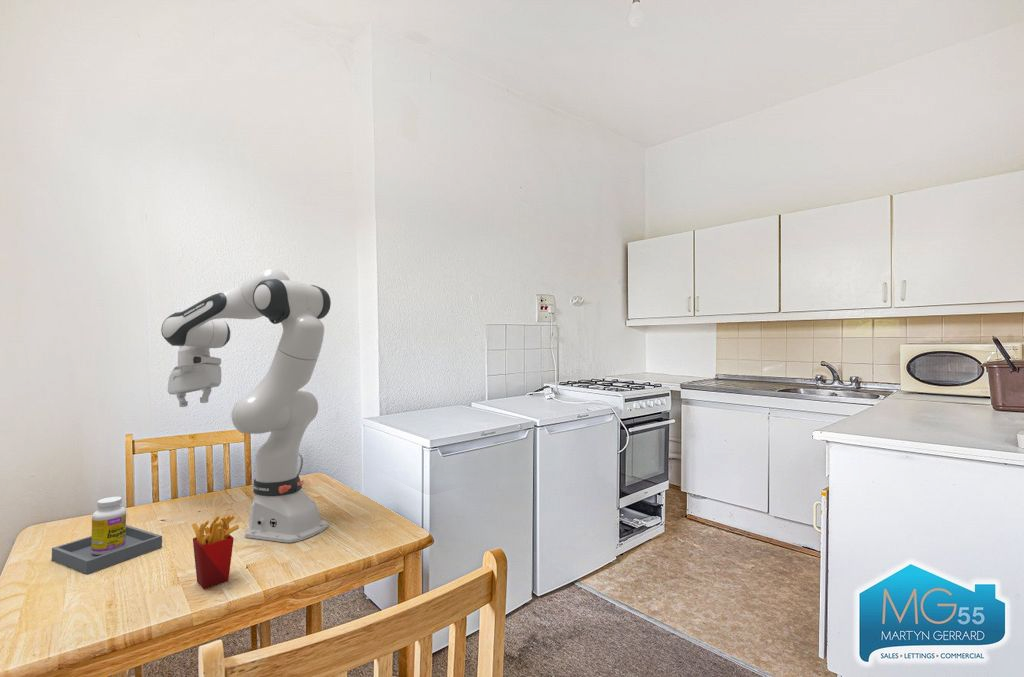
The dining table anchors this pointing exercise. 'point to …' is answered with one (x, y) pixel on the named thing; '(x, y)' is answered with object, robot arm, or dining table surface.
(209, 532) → the french fries
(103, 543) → the supplement bottle
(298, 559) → the dining table surface
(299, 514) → the robot arm
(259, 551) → the dining table surface
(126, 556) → the tray
